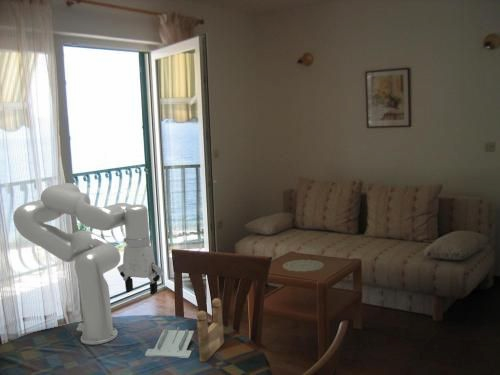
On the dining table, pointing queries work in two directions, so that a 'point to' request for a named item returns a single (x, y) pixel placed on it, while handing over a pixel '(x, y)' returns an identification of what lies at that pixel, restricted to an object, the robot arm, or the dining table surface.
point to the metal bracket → (172, 344)
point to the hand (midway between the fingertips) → (141, 292)
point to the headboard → (210, 331)
